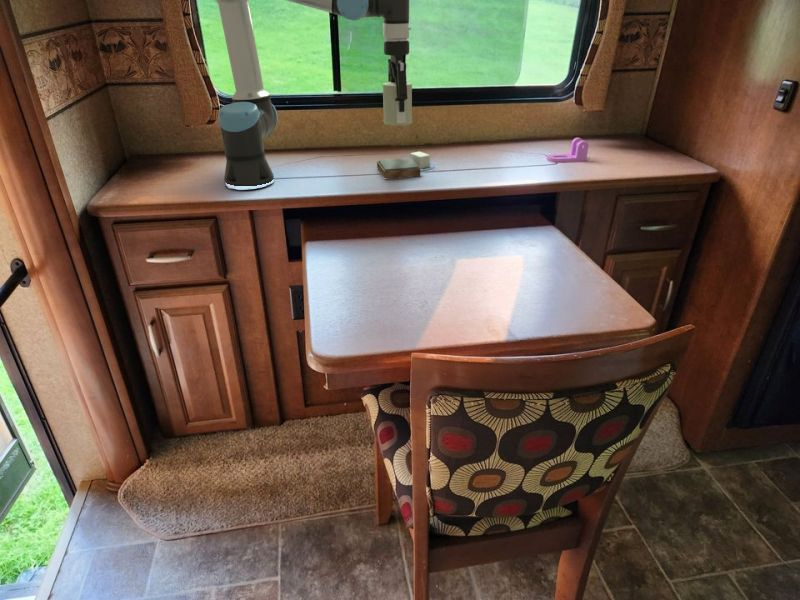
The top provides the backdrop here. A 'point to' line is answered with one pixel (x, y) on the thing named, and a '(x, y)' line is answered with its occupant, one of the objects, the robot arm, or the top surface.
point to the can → (390, 104)
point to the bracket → (572, 153)
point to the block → (421, 159)
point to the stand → (398, 168)
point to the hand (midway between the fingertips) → (397, 119)
